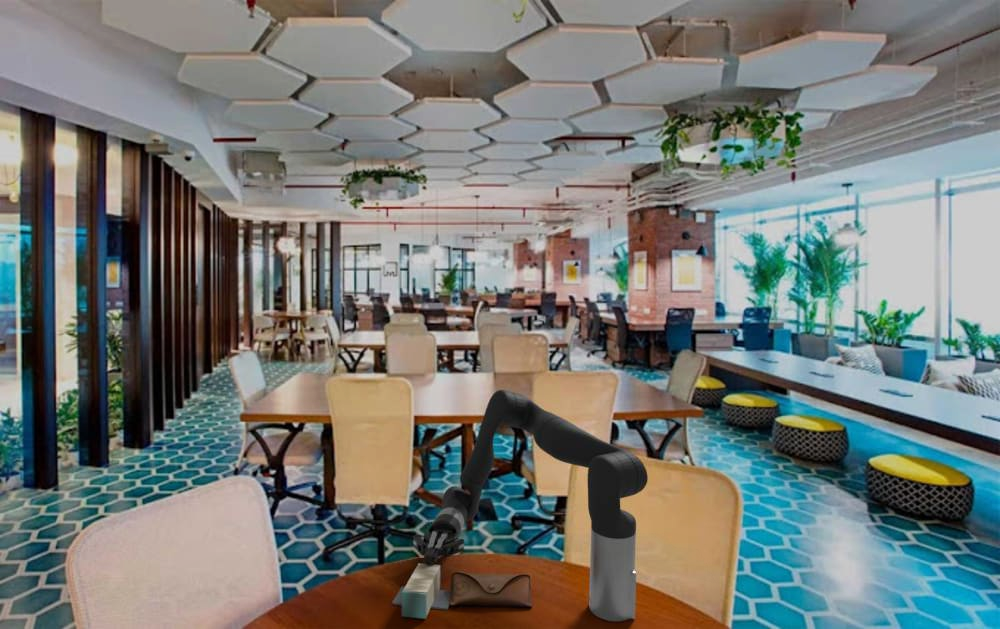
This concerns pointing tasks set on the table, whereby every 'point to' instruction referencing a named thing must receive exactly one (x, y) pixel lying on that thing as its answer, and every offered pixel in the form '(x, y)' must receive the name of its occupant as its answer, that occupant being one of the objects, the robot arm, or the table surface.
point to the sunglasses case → (490, 590)
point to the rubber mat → (439, 602)
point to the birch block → (421, 591)
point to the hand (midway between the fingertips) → (428, 560)
